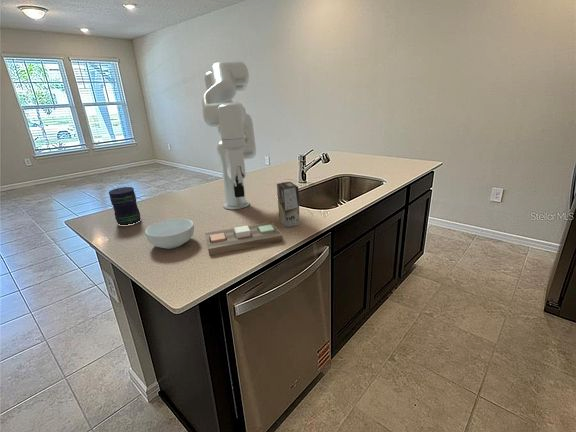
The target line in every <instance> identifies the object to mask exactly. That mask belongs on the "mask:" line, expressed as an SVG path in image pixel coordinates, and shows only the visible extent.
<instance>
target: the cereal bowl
mask: <svg viewBox="0 0 576 432" xmlns="http://www.w3.org/2000/svg"><path fill="white" fill-rule="evenodd" d="M144 232H145V237H146V240H147V241H148V243H149V244H151V245H152V246H154V247H157V248H163V249H166V250H167V249H168V250H170V249H175V248H179V247H181V246H183V245H184V244H185V243H187V242H188V241H189V240H191V238H192V237H193V236H194V233H195V226H194V222H193V221H192V220H190V219H188V218H171V219H166V220H162V221H159V222H155V223H152V224H151V225H149V226H147V228H146V229H145V231H144Z"/></svg>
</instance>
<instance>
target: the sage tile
mask: <svg viewBox="0 0 576 432" xmlns="http://www.w3.org/2000/svg"><path fill="white" fill-rule="evenodd" d="M258 231H259V233H260V234H265V233H270V232H274V228H273V227H272V226H271V225H265V226H259V227H258Z"/></svg>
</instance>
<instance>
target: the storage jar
mask: <svg viewBox="0 0 576 432" xmlns="http://www.w3.org/2000/svg"><path fill="white" fill-rule="evenodd" d="M108 195H109V200H110V202H111V206H112V208H113V211H114V216H115V217H114V218H115V220H116V222H117V223H118V224H120V225H128V224H133V223H136V222H138V221H140V219H141V212H140V210H139V207H138V204H137V195H136V193H135V189H134V187H132V186H123V187H117V188H114V189H111V190H109V191H108ZM141 220H142V219H141ZM118 224H117V225H118Z"/></svg>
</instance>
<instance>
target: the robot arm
mask: <svg viewBox="0 0 576 432" xmlns="http://www.w3.org/2000/svg"><path fill="white" fill-rule="evenodd" d="M249 78H250V75H249V69H248V66H247V65H246V63H244V62H243V61H239V60H236V61H235V60H234V61H218V62H215V63H213V65H212V66H211V68H210V71H207V72H206V73H205V74H204V83H205V87H206V92H204V94H203V96H202V102H201V104H202V105H201V107H202V116H203V120H204V123H205V124H206V125H207V126H208V127H211V128H215V127H217V132H218V134H219V135H220V138H221V139H220V141H218V143H217V146H216V152H217V155H218V158H219V162H220V169H221V173H222V182H223V189H224V196H225V202H223V204H222V205H223V208H224V209H226V210H240V209H245V208H246V207H248V206H249V205H250V201H249V200H248V199H246V191H245V190H246V189H245V182H244V181H245V180H244V179H245V178H246V166H245V160H248V159H249V160H250V159H254V158H255V157H256V155H257V154H256V153H257V145H256V141H255V132H254V131H255V129H254V123H253V119H252V117H251V115H250V114H248V113H246V108H245V106H243V104H242V103H240V102H238V101H237V102H236V101H235V102H234V101H233V99H234V97H235V96H236V95H237V92H243V91H245V90H246V88H247V86H248V83H249Z"/></svg>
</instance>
